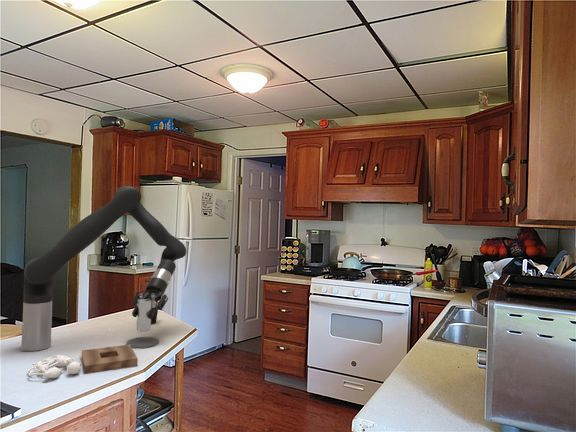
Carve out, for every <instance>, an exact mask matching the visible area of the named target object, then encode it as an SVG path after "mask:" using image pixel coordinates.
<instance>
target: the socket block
mask: <svg viewBox="0 0 576 432" xmlns="http://www.w3.org/2000/svg"><path fill="white" fill-rule="evenodd" d="M80 358H81V364H82V367H83V373H84V374H92V373H97V372H99V373H100V372H106V371H110V370H111V371H113V370H119V369H125V368H131V367H132V368H133V367H137V366H138V364H139V363H138V360H139V359H138V356H137V355H136V353H135V351H134V348H132V347H131V346H130V344H129V345H127V344H123V345H115V346H106V347H99V348H98V347H97V348H90V349H82V350H81V357H80Z"/></svg>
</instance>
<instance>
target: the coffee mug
mask: <svg viewBox="0 0 576 432" xmlns="http://www.w3.org/2000/svg"><path fill="white" fill-rule="evenodd" d="M159 302H160V300H159V301H158V303H159ZM151 308H153V307H152V304H151ZM158 313H159V310H157V311H156V312H155V314H154V316H153V318H151V325H154V324H156V323H157V321H158V320H157V319H158Z"/></svg>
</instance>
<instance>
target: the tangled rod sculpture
mask: <svg viewBox="0 0 576 432" xmlns="http://www.w3.org/2000/svg"><path fill="white" fill-rule="evenodd" d="M53 366H57V367H53ZM81 366H83V363H82V362H81V363H80V362H78V361H75V358H74V357H69V356H67V355H63V354H57V355H53V356H50V357H46V358H45V359H43V360H40V361H38V362H33V363H32V367H30V368H29V369H27V372H28V375H29V376H38V375H39V376H43V377H44V378H48V379H53V380H55V379H57V378H58V377H59V376H60V374H61V375H63V374H64V371H62V370H60V368H62V367H66V371H67V373H68V374H70V375H76V374H78V373H79V372H80V371H81Z"/></svg>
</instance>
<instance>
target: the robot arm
mask: <svg viewBox="0 0 576 432" xmlns="http://www.w3.org/2000/svg"><path fill="white" fill-rule="evenodd" d="M141 200H142V193H141V190H139V188H137V187H135V186H130V185H127V186H125V185H124V186H121V187H119V188H118V189H116V191H115V193H114V196H113V198H112V199H111V200H109V202H108V203H106V204H104V206H103V207H101V208H99V209H97V210H95V211H94V212H92V213H90V214H88V215H87V216H85V217H84V218H82V219H81V220H79V222H77V223H76V224H75V225H73V227H72V228H70V229H69V230H68V231H67V232H66V233H65V235H64V236H62V238H61V239H60V240H59V241H58V242H57V244H55V246H53V247H52V248H51V249H50V250H49V251H46V252H45V253H44V254H43V255H40V256H39V257H35V258H32V259H31V260H29V261H28V262H27V263H26V264H25V265H24V266H25V267H24V269H23V271H24V272H23V304H22V324H21V343H20V345H21V346H20V347H21V348H20V349H21V350H20V351H21V352H35V351H37V352H38V351H42V350H45V349H48V348H50V347H51V346H52V324H53V323H52V321H53V319H52V318H53V296H54V295H53V277H54V276H55V275H56V274H57V273H58V272H59V271H60V270H61V269H62V268H63V267H64V266H65V265H66V264H67V263H68V262H69V261H70V260H72V259H73V258H75V257H76V256H78V254H80V253H82V252H83V251H84V250H85V249H87V248H88V247H90V245H91V244H93V243H94V242H95V241H96V240H97V239H99V238H100V237H101V236H102V235H103V234H104V233H105V232H106V231H108V230H109V229H110V228H111V227H112V226H113V224H115V222H116V221H118V220H119V219H120V218H122V217H123V216H125V215H126V214H127V213H128V214H129V215H130V216H132V218H133V219H134V220H135V221H136V222H137V223H138V224H139V225H140V226H141V227H142V229H143V230H144V231H145V232H146V233H147V234H148V235H149V237H150V238H151V239H152V240H153V242H154V243H156V245H158V246H160V247H165V248H164V249H163V251H162V253H161V257H160V262H159V264H158V266H157V268H156V269H155V271H154V273H153V274H152V276H151V277H150V280H149V281H148V283H147V285H146V286H145V290H144V292H141V293H140V291H136V293H135V296H134V298H133V300H132V305H133V307H134V308H133V310H132V313H131V315H132V316H133V318H137V304H138V300H140V299H150V300H151V304H152V307H153V308H151V310H150V312H149V314H148V316H147V317H148V318H149V319H151V318H153V316H154V314H155V312H156V311H157V310H158V311H162V310H163V308H164V307H165V305H166V304H167V302H168V300H169V297H168V296H167V294H166V293H165V292H166V290H167V289H168V286H169V284H170V281H171V279H172V276H173V274H174V273H175V271H176V268H177V265H176V263H175V261H176V260H179V259H182V258H184V257H185V256H186V255H187V248H186V246H185V244H184V243H183V242H182V241H181V240H180V239H178V238H176V237H175V236H174V235H173V234H171V233H170V232H169V231H168V229H167V228H166V227H165V225H163V224H162V223H161V222H160V221H159V220H158V219H157V218H155V217H154V216H153V215H152V214H151V213H150V212H149V211H148V209H146V208H145V206H144V205H143V204H142V202H141ZM158 301H159V303H158Z"/></svg>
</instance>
